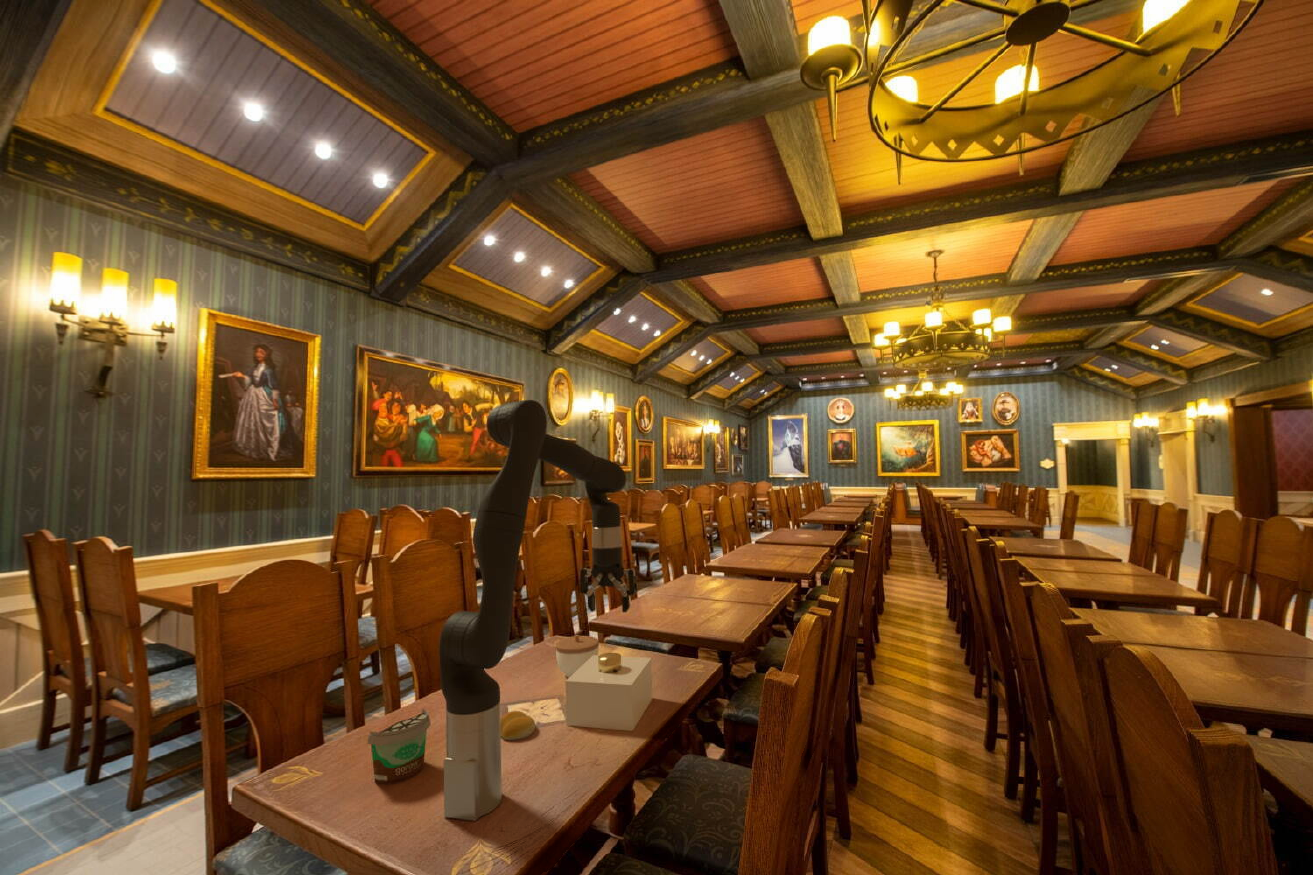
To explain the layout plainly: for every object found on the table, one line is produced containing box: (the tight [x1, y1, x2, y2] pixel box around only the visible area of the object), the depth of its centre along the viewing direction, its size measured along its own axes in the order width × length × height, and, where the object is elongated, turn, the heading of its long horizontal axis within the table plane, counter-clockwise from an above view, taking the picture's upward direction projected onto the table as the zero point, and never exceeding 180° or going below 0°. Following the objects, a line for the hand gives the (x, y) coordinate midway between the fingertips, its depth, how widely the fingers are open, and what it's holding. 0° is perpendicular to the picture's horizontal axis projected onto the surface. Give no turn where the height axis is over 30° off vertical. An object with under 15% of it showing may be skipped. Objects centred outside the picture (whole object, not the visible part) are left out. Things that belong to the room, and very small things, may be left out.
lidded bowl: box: [554, 634, 600, 679], centre depth 158 cm, size 13×13×11 cm
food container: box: [367, 708, 432, 785], centre depth 107 cm, size 12×6×10 cm, turn 148°
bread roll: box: [500, 710, 536, 741], centre depth 123 cm, size 8×9×4 cm
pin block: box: [565, 654, 654, 732], centre depth 132 cm, size 18×16×10 cm
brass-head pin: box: [598, 652, 622, 673], centre depth 132 cm, size 6×6×12 cm
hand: (609, 611), depth 133 cm, fingers open, 8 cm apart
